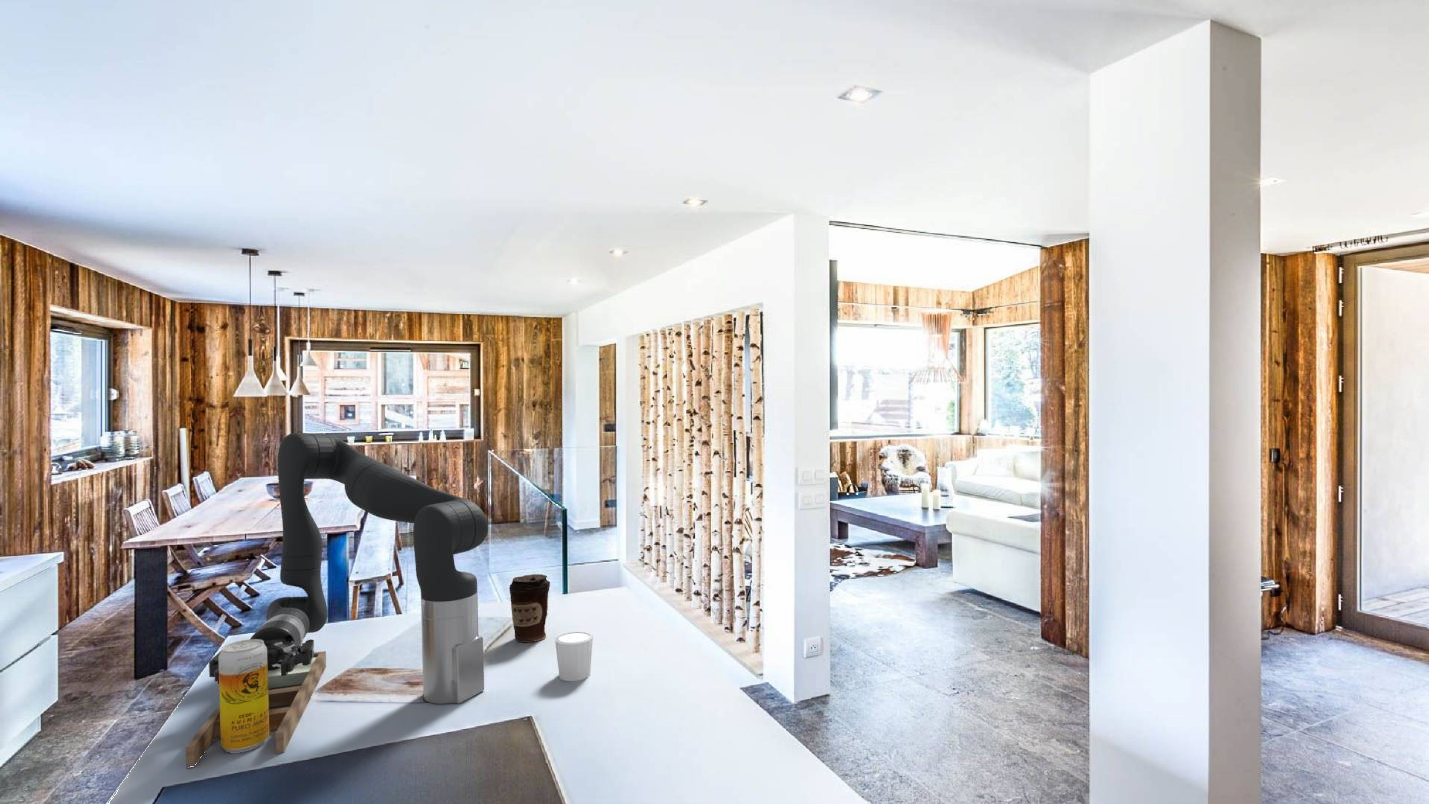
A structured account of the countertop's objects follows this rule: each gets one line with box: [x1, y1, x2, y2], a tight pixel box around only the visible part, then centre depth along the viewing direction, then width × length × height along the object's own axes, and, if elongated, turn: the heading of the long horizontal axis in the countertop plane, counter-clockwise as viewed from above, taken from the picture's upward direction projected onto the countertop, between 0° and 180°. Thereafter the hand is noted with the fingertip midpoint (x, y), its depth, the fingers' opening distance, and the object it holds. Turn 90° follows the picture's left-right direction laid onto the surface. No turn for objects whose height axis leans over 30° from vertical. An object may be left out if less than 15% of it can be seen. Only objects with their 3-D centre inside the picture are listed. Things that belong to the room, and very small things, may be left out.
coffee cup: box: [509, 573, 551, 643], centre depth 153 cm, size 9×8×13 cm
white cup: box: [554, 631, 594, 682], centre depth 132 cm, size 7×7×7 cm
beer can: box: [218, 638, 270, 754], centre depth 108 cm, size 6×6×15 cm
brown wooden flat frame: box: [185, 650, 327, 767], centre depth 120 cm, size 36×12×3 cm, turn 20°
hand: (252, 673), depth 112 cm, fingers open, 8 cm apart
